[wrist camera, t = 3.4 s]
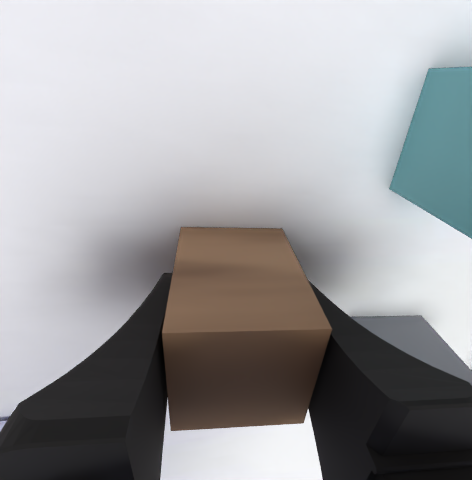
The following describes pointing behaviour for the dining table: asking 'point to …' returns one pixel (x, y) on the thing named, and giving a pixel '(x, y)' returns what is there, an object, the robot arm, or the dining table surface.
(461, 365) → the charcoal block
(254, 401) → the walnut block
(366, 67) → the dining table surface
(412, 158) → the teal block
